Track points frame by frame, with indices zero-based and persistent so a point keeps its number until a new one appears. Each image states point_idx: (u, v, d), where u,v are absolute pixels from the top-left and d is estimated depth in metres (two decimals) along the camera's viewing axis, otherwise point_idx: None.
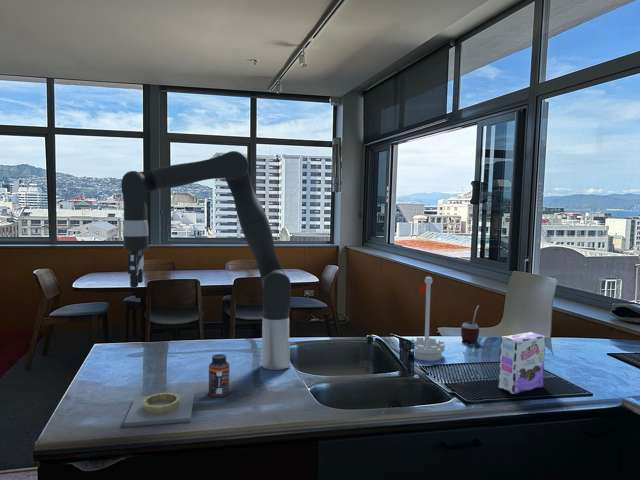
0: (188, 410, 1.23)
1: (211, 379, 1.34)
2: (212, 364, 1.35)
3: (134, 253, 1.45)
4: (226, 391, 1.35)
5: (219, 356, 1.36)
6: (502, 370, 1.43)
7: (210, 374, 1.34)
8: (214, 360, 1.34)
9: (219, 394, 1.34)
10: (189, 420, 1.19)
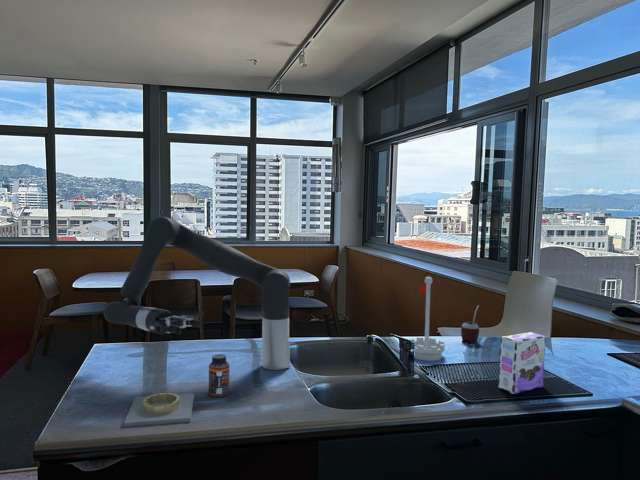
0: (188, 410, 1.23)
1: (211, 379, 1.34)
2: (212, 364, 1.35)
3: None
4: (226, 391, 1.35)
5: (219, 356, 1.36)
6: (502, 370, 1.43)
7: (210, 374, 1.34)
8: (214, 360, 1.34)
9: (219, 394, 1.34)
10: (189, 420, 1.19)
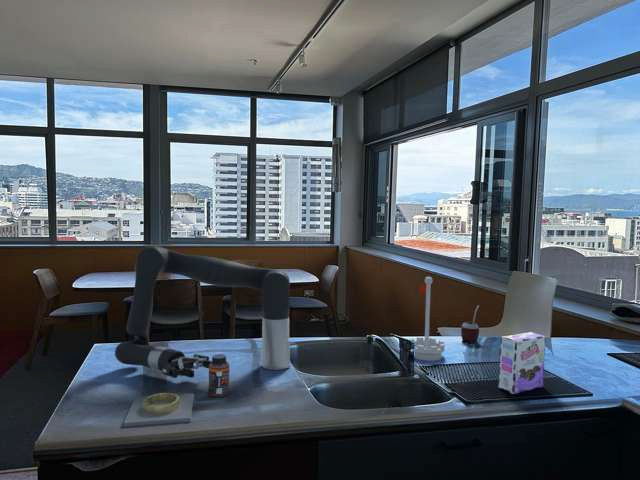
0: (188, 410, 1.23)
1: (211, 379, 1.34)
2: (212, 364, 1.35)
3: (169, 366, 1.42)
4: (226, 391, 1.35)
5: (219, 356, 1.36)
6: (502, 370, 1.43)
7: (210, 374, 1.34)
8: (214, 360, 1.34)
9: (219, 394, 1.34)
10: (189, 420, 1.19)
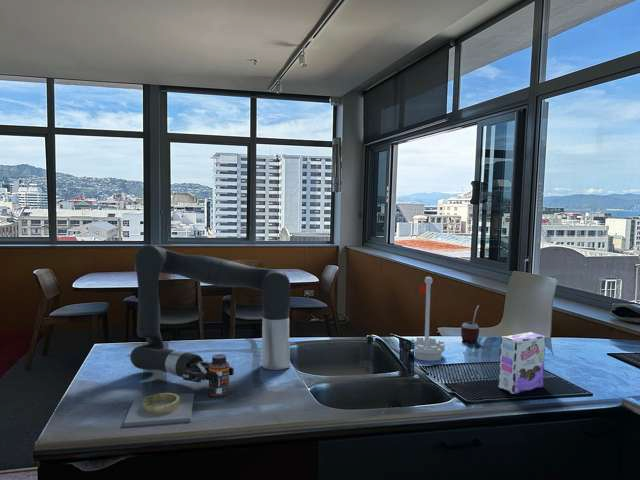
0: (188, 410, 1.23)
1: None
2: (212, 364, 1.35)
3: None
4: (226, 391, 1.35)
5: (219, 355, 1.36)
6: (502, 370, 1.43)
7: None
8: (214, 360, 1.34)
9: (219, 394, 1.34)
10: (189, 420, 1.19)
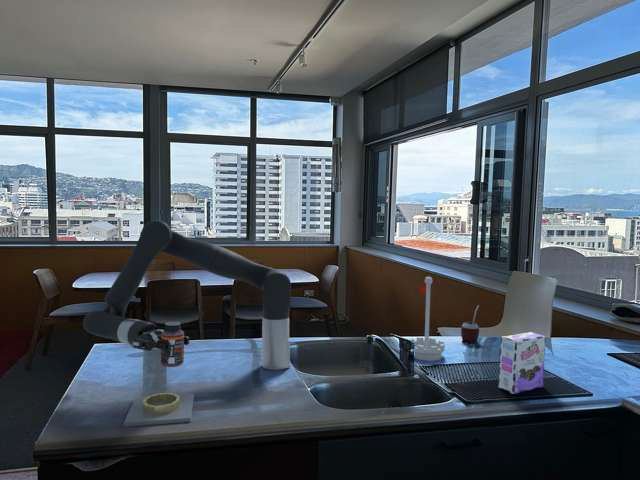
0: (188, 410, 1.23)
1: None
2: (165, 332, 1.25)
3: None
4: (179, 361, 1.25)
5: (173, 323, 1.26)
6: (502, 370, 1.43)
7: None
8: (167, 327, 1.24)
9: (171, 364, 1.24)
10: (189, 420, 1.19)
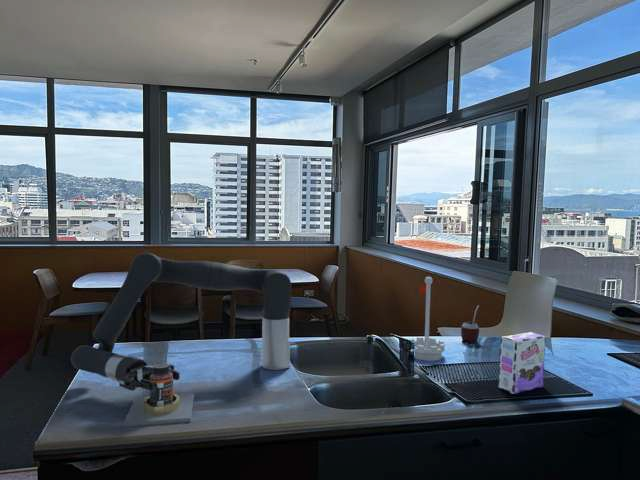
0: (188, 410, 1.23)
1: (151, 390, 1.22)
2: (153, 374, 1.23)
3: (128, 377, 1.25)
4: None
5: (162, 365, 1.24)
6: (502, 370, 1.43)
7: None
8: (155, 370, 1.23)
9: None
10: (189, 420, 1.19)
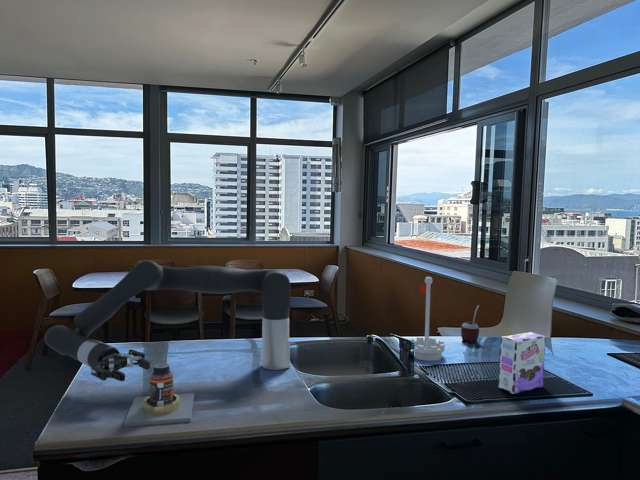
0: (188, 410, 1.23)
1: (151, 390, 1.22)
2: (153, 374, 1.23)
3: None
4: None
5: (162, 365, 1.24)
6: (502, 370, 1.43)
7: (151, 385, 1.23)
8: (155, 369, 1.23)
9: None
10: (189, 420, 1.19)
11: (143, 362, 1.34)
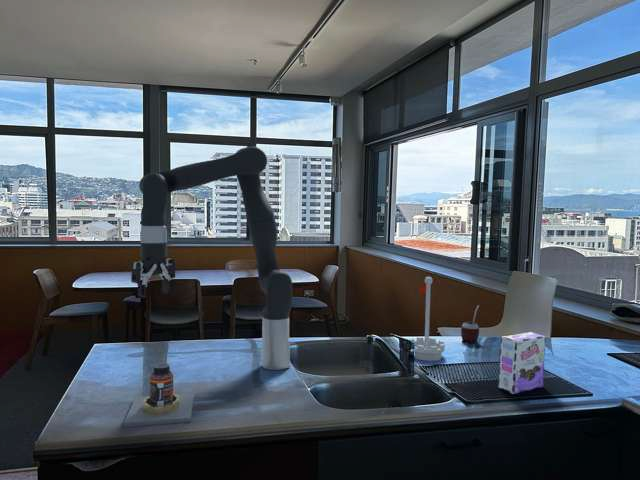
0: (188, 410, 1.23)
1: (151, 390, 1.22)
2: (153, 374, 1.23)
3: (144, 261, 1.36)
4: None
5: (162, 365, 1.24)
6: (502, 370, 1.43)
7: (151, 385, 1.23)
8: (156, 370, 1.23)
9: None
10: (189, 420, 1.19)
11: (166, 287, 1.43)
